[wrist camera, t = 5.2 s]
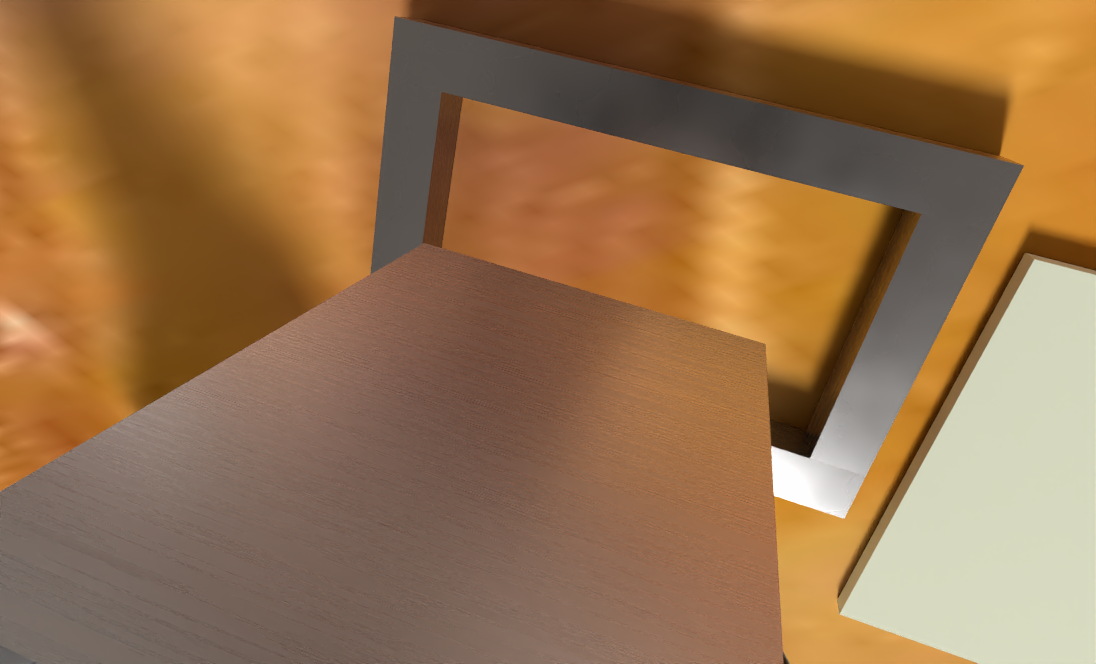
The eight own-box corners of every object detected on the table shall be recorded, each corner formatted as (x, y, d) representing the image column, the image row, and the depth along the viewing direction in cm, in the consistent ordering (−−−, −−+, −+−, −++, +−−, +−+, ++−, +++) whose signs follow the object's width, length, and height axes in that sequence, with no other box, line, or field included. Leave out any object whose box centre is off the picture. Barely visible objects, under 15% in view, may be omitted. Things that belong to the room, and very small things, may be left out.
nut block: (663, 607, 11) (553, 1316, 5) (390, 506, 12) (-3, 1004, 6) (765, 343, 9) (802, 1008, 3) (423, 243, 10) (-146, 577, 4)
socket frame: (837, 487, 20) (844, 518, 19) (385, 341, 22) (362, 359, 21) (1000, 156, 16) (1023, 165, 14) (420, 19, 18) (394, 16, 17)
